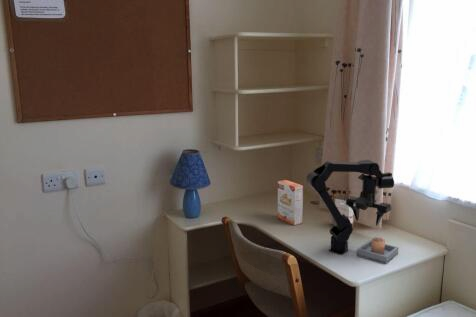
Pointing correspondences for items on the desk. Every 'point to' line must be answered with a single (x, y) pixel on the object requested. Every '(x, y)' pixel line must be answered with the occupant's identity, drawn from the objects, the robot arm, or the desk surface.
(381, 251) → the terracotta cup
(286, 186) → the cracker box
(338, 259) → the desk surface
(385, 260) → the tray
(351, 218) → the ink cartridge box
